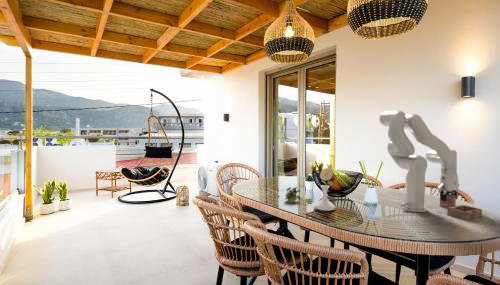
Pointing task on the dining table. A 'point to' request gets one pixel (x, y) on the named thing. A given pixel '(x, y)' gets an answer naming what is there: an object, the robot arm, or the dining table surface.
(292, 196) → the green leafy plant
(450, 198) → the lighter
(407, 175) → the robot arm
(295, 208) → the dining table surface
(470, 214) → the lighter dock
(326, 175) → the flower in vase
